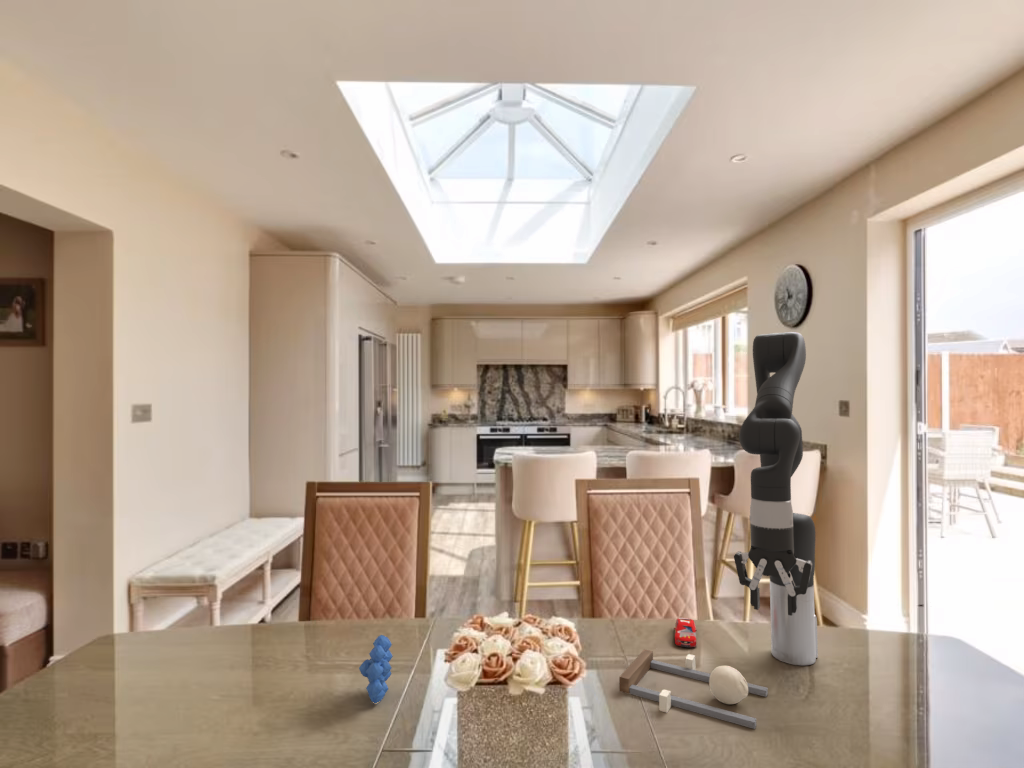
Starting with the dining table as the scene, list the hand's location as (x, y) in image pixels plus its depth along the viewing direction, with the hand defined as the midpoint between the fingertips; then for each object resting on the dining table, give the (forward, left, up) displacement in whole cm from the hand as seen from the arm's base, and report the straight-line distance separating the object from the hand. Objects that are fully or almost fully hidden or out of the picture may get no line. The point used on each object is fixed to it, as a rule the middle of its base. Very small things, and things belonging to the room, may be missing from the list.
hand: (773, 610), depth 109 cm
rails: (+7, -13, -19) cm, 24 cm away
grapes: (+66, -43, -20) cm, 81 cm away
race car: (-10, -34, -20) cm, 41 cm away
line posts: (+9, -16, -19) cm, 27 cm away
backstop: (+14, -24, -19) cm, 34 cm away
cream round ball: (+4, -7, -20) cm, 22 cm away
